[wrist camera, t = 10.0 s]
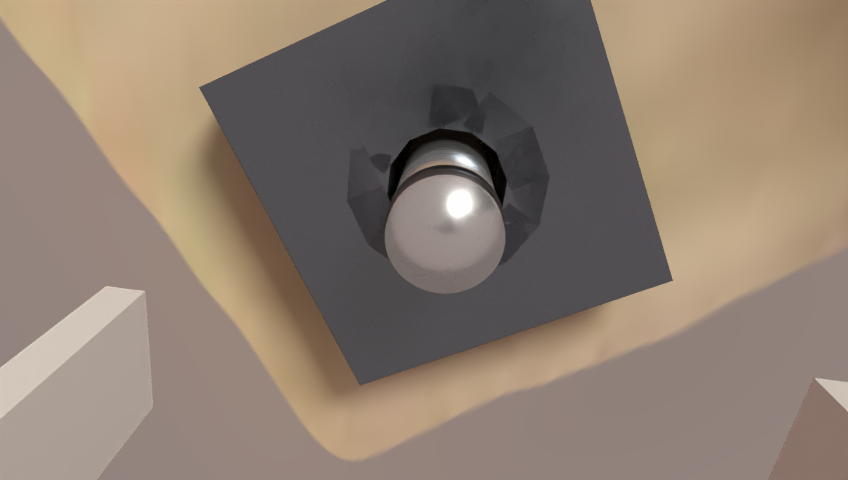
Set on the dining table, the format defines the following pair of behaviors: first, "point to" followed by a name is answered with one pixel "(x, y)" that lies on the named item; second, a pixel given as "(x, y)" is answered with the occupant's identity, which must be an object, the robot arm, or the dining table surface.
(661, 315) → the dining table surface
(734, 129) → the dining table surface
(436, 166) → the silver metal cylinder
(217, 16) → the dining table surface
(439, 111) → the flange plate
